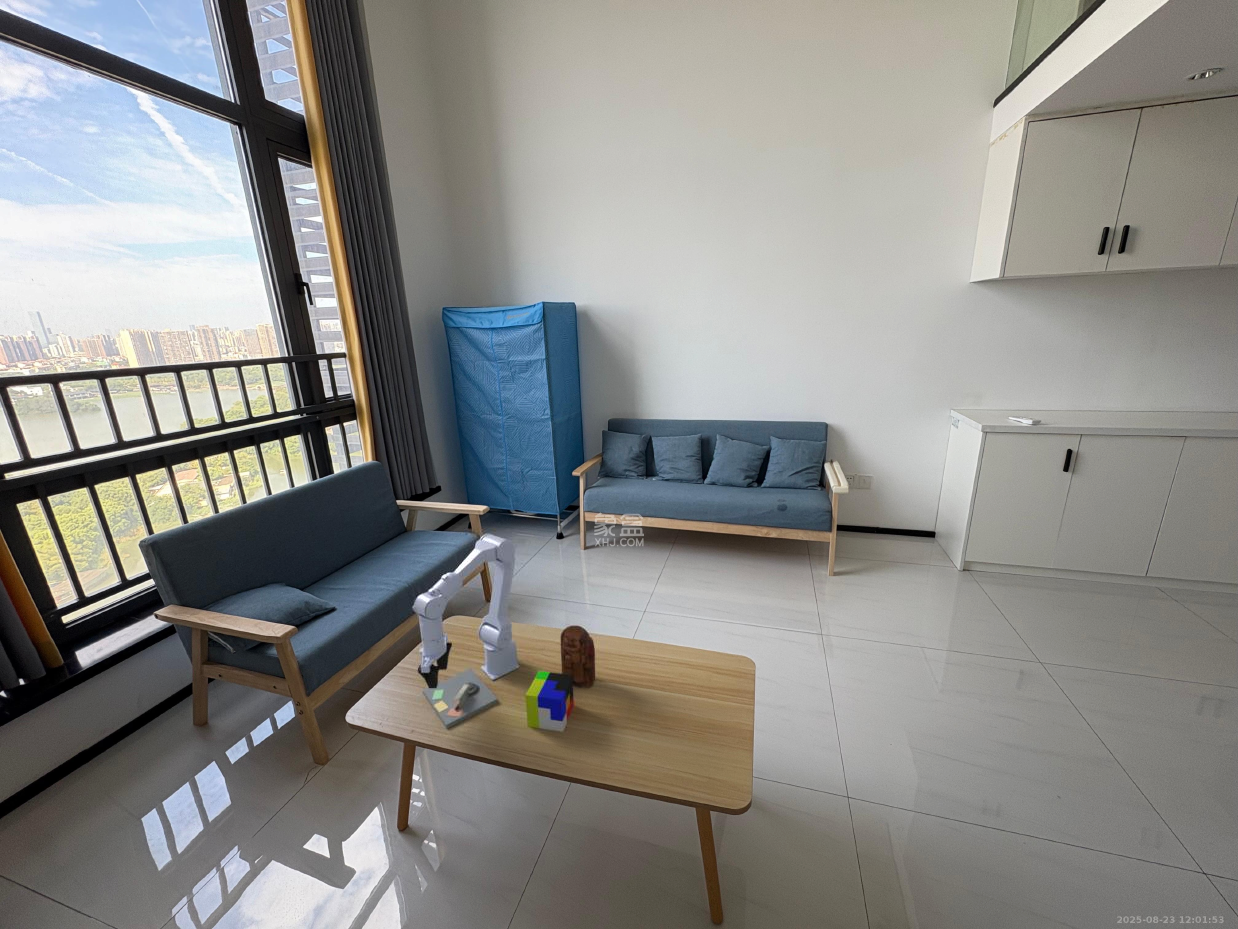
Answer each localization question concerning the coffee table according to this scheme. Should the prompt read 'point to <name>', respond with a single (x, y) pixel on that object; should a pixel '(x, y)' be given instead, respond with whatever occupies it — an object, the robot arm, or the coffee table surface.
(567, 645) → the wooden figurine
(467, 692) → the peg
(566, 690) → the puzzle toy
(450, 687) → the tuner board
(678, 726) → the coffee table surface
